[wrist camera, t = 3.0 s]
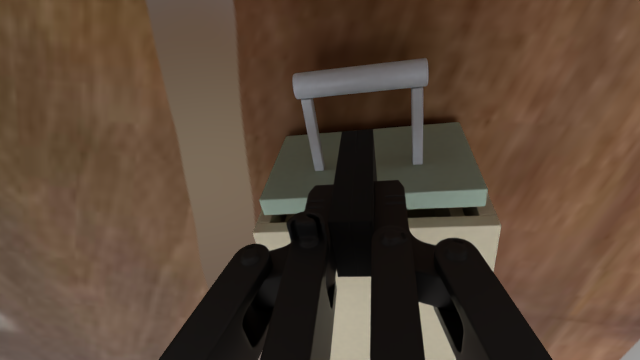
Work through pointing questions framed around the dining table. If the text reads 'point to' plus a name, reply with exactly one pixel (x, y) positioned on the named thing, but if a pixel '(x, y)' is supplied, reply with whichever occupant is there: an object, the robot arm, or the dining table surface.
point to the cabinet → (356, 291)
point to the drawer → (378, 147)
